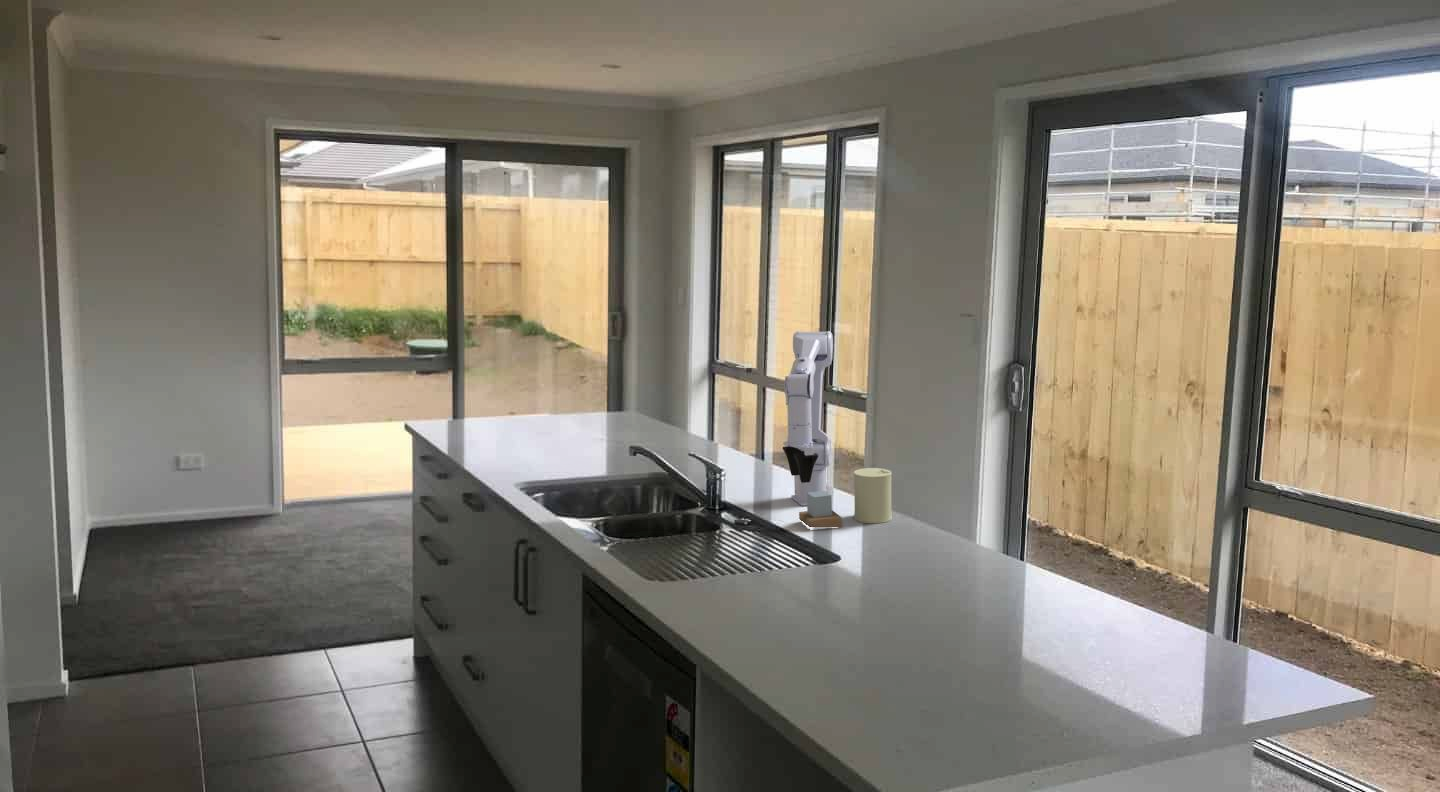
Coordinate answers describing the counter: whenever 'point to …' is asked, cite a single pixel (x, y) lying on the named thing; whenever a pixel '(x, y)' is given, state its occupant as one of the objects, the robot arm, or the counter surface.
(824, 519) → the slab
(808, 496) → the block
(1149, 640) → the counter surface
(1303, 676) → the counter surface
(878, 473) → the can
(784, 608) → the counter surface
